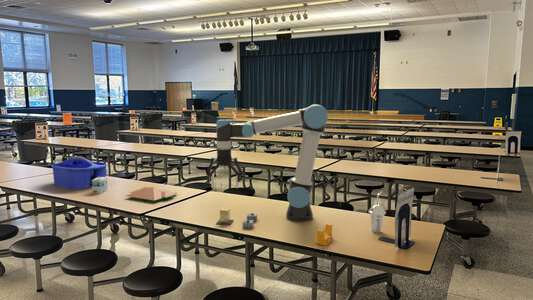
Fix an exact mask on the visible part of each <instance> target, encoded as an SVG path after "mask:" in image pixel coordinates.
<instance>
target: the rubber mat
mask: <svg viewBox="0 0 533 300" xmlns="http://www.w3.org/2000/svg"><path fill="white" fill-rule="evenodd" d="M233 222H234V219H230V221H229V223H220V218H219V219H218V220H217V222H216V223H215V224H216V225H218V226H219V225H222V226H231V225H232V223H233Z"/></svg>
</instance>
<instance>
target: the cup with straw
mask: <svg viewBox="0 0 533 300" xmlns="http://www.w3.org/2000/svg"><path fill="white" fill-rule="evenodd" d="M382 193H383V190H381V191H380V192H379V193H378V194H377V196H376V204H373V205H372V206H371V207H370V208H369V209H368V214H369V217H370V224H371V225H370V227H371V232H372V233H375V234H377V233H381V232H382V227H383V221H384V217H385V215H386V214H387V212H386V210H385V209H384V207H383V206H382V205H381V204H379V197H380V195H381V194H382Z"/></svg>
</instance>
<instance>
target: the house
mask: <svg viewBox="0 0 533 300" xmlns="http://www.w3.org/2000/svg"><path fill="white" fill-rule="evenodd" d="M129 193H130V194H125V197H129V198H132V199H133V200H136V201H142V202H144V201H146V202H147V201H148V203H151V201H152V203H158V201H161V200H162V201H163V200H167V199H169V198H170V199H173V198H174V197H175V196H177V194H178V192H176V191H171V190H167V189H163V188H157V187H152V186H150V187H148V186H147V187H146V186H145V187H142V188H139V189H136V190H133V191H130V192H129Z"/></svg>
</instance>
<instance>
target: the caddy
mask: <svg viewBox="0 0 533 300" xmlns="http://www.w3.org/2000/svg"><path fill="white" fill-rule="evenodd" d="M107 166H108V164H107V163H106V162H102V161H101V162H98V161H92V160H89V159H87V158H85V157H83V156H80V155H79V156H78V155H76V156H72V157H70V158H68V159H66V160H63V161H60V162H57V163H56V162H55V163H52V164H51V166H50V167H51V169H52V175H53V185H54V186H55V187H56V186H58V187H57V188H61V187H64V188H63V189H67V188H68V189H67V190H86V188H87V189H89V188H90V186H91V184H92V180H93V179H95V178H98V177H107V176H106V174H107V173H106V171H107Z"/></svg>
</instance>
